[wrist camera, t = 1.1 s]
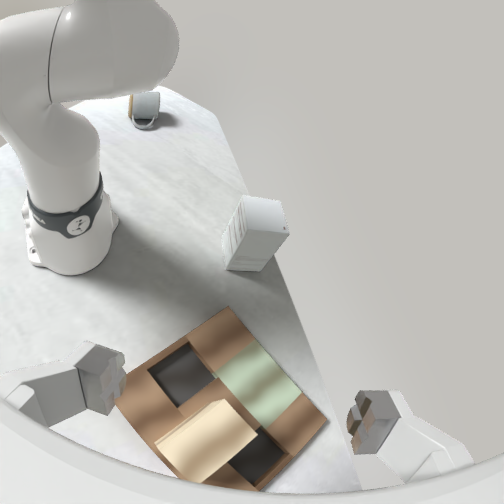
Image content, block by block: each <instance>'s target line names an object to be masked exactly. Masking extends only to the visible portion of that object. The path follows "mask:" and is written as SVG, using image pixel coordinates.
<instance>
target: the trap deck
mask: <svg viewBox="0 0 504 504" xmlns="http://www.w3.org/2000/svg"><path fill="white" fill-rule="evenodd" d="M222 399H225V400H226V401H227V402H228V403H229V404H230V406H231V407H232V408H233V409H234V410H235V411H236V412H237V413H238V414H239V415H240V416H241V418H242V419H243V420H244V421H245V422H246V423H247V424H248V425H249V426H250V427H251V428H252V429H253V430H254V431H255V432H256V433H257V434H258V435H257V436H256V437H255V438H254V439H253V440H251V441H250V442H249V443H248V444H247V445H246V446H245V447H244V448H243V449H241V450H240V451H239V452H238V453H237V454H236V455H234V456H233V457H232V458H231V459H230V460H229V461H227V462H226V463H225V464H224V465H223V466H221V467H220V468H219V469H218V470H217V471H215V472H214V473H213V474H212V475H210V476H209V477H208V478H206V479H205V480H204V481H203V482H201V484H207V485H212V486H218V487H224V488H231V489H238V490H247V491H257V492H259V491H260V490H261V489H262V488H263V487H264V486H265V485H266V484H267V483H269V482H270V481H271V480H272V479H273V478H274V477H275V476H276V475H277V474H278V473H279V472H280V471H281V470H282V469H283V468H284V467H285V466H286V465H287V464H288V463H289V462H290V461H291V460H292V459H293V458H294V457H295V455H296V454H297V453H298V452H299V451H300V450H301V449H302V448H303V447H304V446H305V445H306V443H307V442H308V441H309V440H310V439H311V438H312V437H313V436H314V434H315V433H316V432H317V431H318V430H319V429H320V427H321V426H322V425H323V424H324V423H325V421H326V420H327V419H326V418H325V417H324V415H323V414H322V413H321V412H320V411H319V410H318V409H317V408H316V407H315V406H314V405H313V404H312V403H311V401H310V400H309V399H308V398H307V397H306V396H305V395H304V394H303V393H302V392H301V390H300V389H299V388H298V387H297V386H296V385H295V384H294V383H293V382H292V380H291V379H290V378H289V377H288V376H287V375H286V374H285V373H284V371H283V370H282V369H281V368H280V367H279V366H278V365H277V363H276V362H275V361H274V360H273V359H272V358H271V356H270V355H269V354H268V353H267V352H266V351H265V349H264V348H263V347H262V346H261V345H260V344H259V342H258V341H257V340H256V339H255V338H254V336H253V335H252V334H251V333H250V332H249V331H248V329H247V328H246V327H245V326H244V325H243V323H242V322H241V321H240V320H239V318H238V317H237V316H236V315H235V314H234V312H233V311H232V310H231V309H230V307H229V306H227V307H226V308H224V309H223V310H222V311H220V312H219V313H217V314H216V315H214V316H213V317H211V318H210V319H209V320H207V321H206V322H204V323H203V324H201V325H200V326H198V327H197V328H195V329H194V330H193V331H191V332H190V333H188V334H187V335H185V336H184V337H182V338H181V339H179V340H178V341H176V342H175V343H173V344H172V345H170V346H169V347H167V348H166V349H164V350H163V351H161V352H160V353H158V354H157V355H155V356H154V357H152V358H151V359H149V360H148V361H146V362H145V363H143V364H142V365H140V366H139V367H137V368H135V369H134V370H132V371H131V372H129V373H128V374H126V385H125V389H124V392H123V393H122V395H121V396H120V397H118V398H115V405H116V406H117V407H118V409H119V410H120V411H121V413H122V414H123V415H124V417H125V418H126V419H127V421H128V422H129V423H130V424H131V426H132V427H133V428H134V429H135V431H136V432H137V433H138V434H139V435H140V437H141V438H142V439H143V440H144V441H145V443H146V444H147V445H148V446H149V447H150V448H151V449H152V451H153V452H154V453H155V454H156V455H157V456H158V457H159V458H160V459H161V460H162V461H163V463H164V464H165V465H166V466H167V467H168V468H169V469H170V470H171V471H172V472H173V473H174V474H175V475H176V476H177V477H178V478H179V479H183V480H187V479H186V478H185V477H184V476H183V475H182V474H181V473H180V472H179V471H178V470H177V469H176V468H175V467H174V466H173V465H172V464H171V463H170V462H169V461H168V459H167V458H166V457H165V456H164V455H163V454H162V453H161V452H160V451H159V450H158V448H157V446H156V445H155V443H154V442H156V441H157V440H158V439H160V438H161V437H163V436H164V435H166V434H167V433H168V432H170V431H171V430H172V429H174V428H175V427H177V426H178V425H179V424H181V423H182V422H183V421H185V420H186V419H187V418H189V417H190V416H191V415H193V414H194V413H195V412H197V411H198V410H199V409H200V408H202V407H203V406H204V405H206V404H207V403H210V402H214V401H218V400H222ZM187 481H188V480H187Z"/></svg>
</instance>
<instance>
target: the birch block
mask: <svg viewBox="0 0 504 504" xmlns="http://www.w3.org/2000/svg"><path fill="white" fill-rule="evenodd" d="M257 435H258V434H257V433H256V432H255V431H254V430H253V429H252V428H251V427H250V426H249V425H248V424H247V423H246V422H245V421H244V420H243V419H242V418H241V416H240V415H239V414H238V413H237V412H236V411H235V410H234V409H233V408H232V407H231V406H230V404H229V403H228V402H227V401H226V400H225V399H222V400H218V401H214V402H210V403H207V404H206V405H204V406H203V407H202V408H200V409H199V410H198V411H197V412H195V413H194V414H193V415H191V416H190V417H189V418H187V419H186V420H185V421H183V422H182V423H181V424H179V425H178V426H177V427H175V428H174V429H172V430H171V431H170V432H168V433H167V434H166V435H164V436H163V437H161V438H160V439H158V440H157V441H156V442H154V443H155V445H156V446H157V448H158V450H159V451H160V452H161V453H162V454H163V455H164V456H165V457H166V458H167V459H168V461H169V462H170V463H171V464H172V465H173V466H174V467H175V468H176V469H177V470H178V471H179V472H180V473H181V474H182V475H183V476H184V477H185V478H186V479H187V480H188V481H192V482H196V483H201V482H203V481H204V480H205V479H206V478H208V477H209V476H210V475H212V474H213V473H214V472H215V471H217V470H218V469H219V468H220V467H221V466H223V465H224V464H225V463H226V462H227V461H229V460H230V459H231V458H232V457H233V456H234V455H236V454H237V453H238V452H239V451H240V450H241V449H243V448H244V447H245V446H246V445H247V444H248V443H249V442H250V441H251V440H253V439H254V438H255V437H256V436H257Z"/></svg>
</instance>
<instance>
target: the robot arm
mask: <svg viewBox="0 0 504 504" xmlns="http://www.w3.org/2000/svg"><path fill="white" fill-rule="evenodd" d="M178 50H179V34H178V30H177V27H176V25H175V23H174V21H173V19H172V18H171V16H170V15H169V14H168V13H167V12H166V11H165V10H164V9H163V8H162V7H160V6H159V5H158V4H157V2H156V1H155V0H75V2H74V3H73V4H71V5H67V6H65V7H57V8H50V9H43V10H38V11H32V12H27V13H22V14H17V15H13V16H9V17H7V18H4V19H2V20H0V134H1V135H2V136H3V137H4V138H5V139H6V141H7V142H8V143H9V145H10V146H11V147H12V149H13V150H14V152H15V154H16V156H17V157H18V160H19V162H20V165H21V168H22V171H23V175H24V178H25V181H26V185H27V188H28V191H27V198H26V199H25V201H24V206H23V207H22V208H21V209H22V215H23V218H24V219H25V229H26V240H27V249H28V256H29V261H30V263H31V264H32V265H34V266H42V267H47V268H49V269H50V270H52V271H54V272H56V273H59V274H63V275H78V274H82V273H85V272H87V271H89V270H91V269H93V268H94V267H96V266H97V265H98V264H99V263H100V262H101V261H102V260H103V259H104V258H105V256H106V255H107V253H108V251H109V248H110V245H111V239H112V234H113V232H114V230H115V229H116V227H117V225H118V223H119V219H118V216H117V215H116V214H115V213H114V212H113V211H112V210H111V203H110V197H109V195H108V194H106V193H105V192H104V191H103V181H102V176H101V173H100V171H99V157H100V139H99V135H98V133H97V131H96V129H95V127H94V126H93V125H92V123H91V122H90V121H89V120H88V119H87V118H86V117H84V116H83V115H81V114H79V113H76V112H74V111H71V110H69V109H67V108H65V107H64V106H63V105H61V104H60V102H69V101H79V100H93V99H112V98H116V97H121V96H127V95H132V94H136V93H141V92H146V91H151V90H153V89H154V88H156V87H157V86H158V85H159V84H160V83H161V82H162V81H163V80H164V79H165V78H166V76H167V75H168V74H169V72H170V71H171V69H172V67H173V65H174V63H175V61H176V58H177V54H178ZM34 251H36V252H35V253H33V252H34ZM124 363H125V359H124V354H123V353H122V352H119V351H116V350H113V349H110V348H107V347H104V346H101V345H97V344H95V343H92V342H89V341H84V342H83V343H81V344H80V345H79V346H78V347H77V348H76V349H75V350H74V351H73V352H72V353H71V354H69V355H68V356H67V357H66V358H65V359H64V360H63V361H59V360H57V361H53V362H49V363H45V364H40V365H36V366H31V367H27V368H22V369H17V370H13V371H8V372H5V373H4V374H3V375H2V376H0V504H504V453H502V454H500V455H498V456H495V457H493V458H490V459H488V460H485V461H483V462H480V463H478V464H475V463H474V461H473V459H472V457H471V456H470V454H469V452H468V451H467V449H466V447H465V446H464V444H463V443H461V442H459V441H458V440H456V439H454V438H452V437H451V436H449V435H447V434H445V433H444V432H442V431H440V430H439V429H437V428H436V427H434V426H432V425H431V424H429V423H427V422H426V421H424V420H422V419H421V418H419V417H414V415H413V413H412V412H411V410H410V408H409V406H408V404H407V403H406V401H405V399H404V397H403V396H402V394H401V392H400V391H399V390H385V391H360V392H358V394H357V396H356V398H355V401H356V405H354V406H353V407H352V408H351V409H350V411H349V413H348V417H347V429H348V433H350V434H351V435H352V436H353V438H352V440H351V444H352V447H353V451H354V454H376V455H377V456H378V457H379V458H380V459H381V460H382V461H383V462H384V463H385V464H386V465H387V466H388V467H389V468H390V469H391V470H392V471H393V472H394V473H395V474H396V475H398V476H399V477H400V478H401V479H402V480H403V481H404V482H405V483H406V484H403V485H397V486H392V487H385V488H378V489H371V490H363V491H353V492H340V493H319V494H291V493H269V492H257V491H247V490H238V489H231V488H224V487H218V486H212V485H207V484H201V483H196V482H192V481H187V480H183V479H179V478H175V477H171V476H167V475H163V474H159V473H156V472H153V471H149V470H146V469H143V468H140V467H137V466H134V465H131V464H128V463H125V462H122V461H119V460H117V459H114V458H111V457H109V456H106V455H104V454H101V453H99V452H97V451H94V450H92V449H90V448H87V447H85V446H83V445H81V444H79V443H76V442H74V441H72V440H70V439H68V438H66V437H64V436H62V435H60V434H58V433H56V432H55V431H53V430H51V429H49V428H48V427H50V426H53V425H55V424H57V423H59V422H61V421H63V420H66V419H68V418H70V417H72V416H74V415H76V414H78V413H80V412H82V411H84V410H86V408H87V409H90V410H93V411H95V412H98V413H101V414H104V415H106V416H108V415H109V413H110V412H111V410H112V409H113V407H114V406H115V398H118V397H120V396H121V395H122V393H123V392H124V389H125V385H126V372H125V371H124V369H123V368H122V366H123V365H124Z"/></svg>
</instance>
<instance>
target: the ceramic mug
mask: <svg viewBox="0 0 504 504" xmlns="http://www.w3.org/2000/svg"><path fill="white" fill-rule="evenodd" d="M159 107H160V93H159V92H144V93H136V94H132V95H130V99H129V111H128V116H129V117H130V118H132V122H133V125H134V126H135V127H136V128H138V129H147V128H149V127H150V126H151V125H152V124H153V122H154V119H157V117H158V114H159ZM134 119H153V120H152V121H151V122H150V123H149V124H148V125H146V126H141V125H138V124H137V123H136V122H135V121H134Z"/></svg>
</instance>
